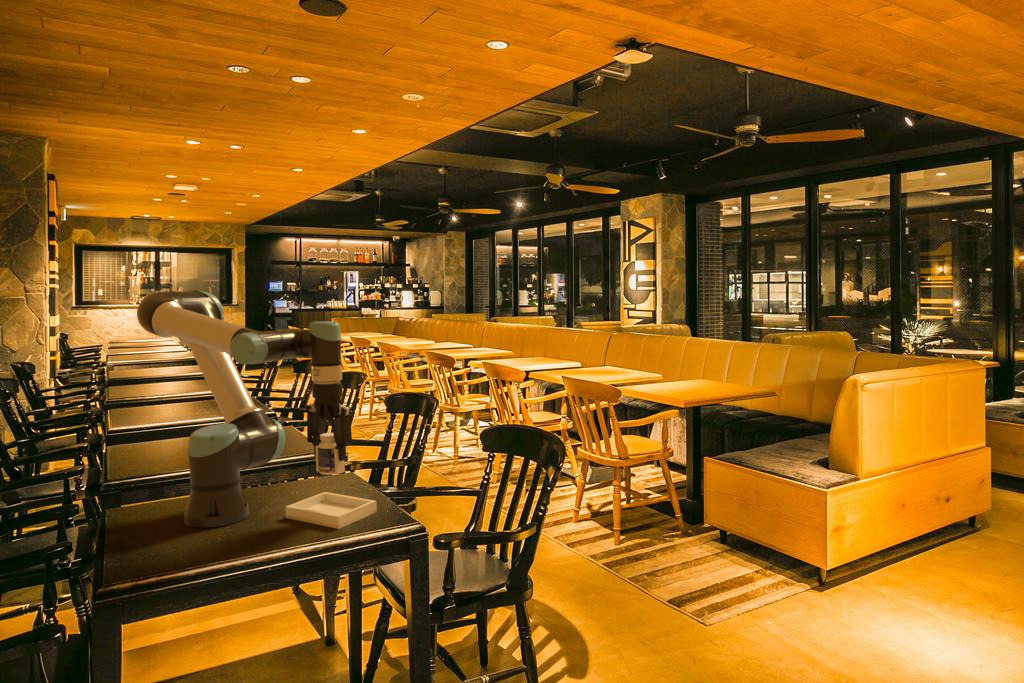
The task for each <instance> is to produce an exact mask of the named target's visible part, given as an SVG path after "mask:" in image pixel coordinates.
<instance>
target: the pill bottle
mask: <svg viewBox="0 0 1024 683" xmlns="http://www.w3.org/2000/svg"><path fill="white" fill-rule="evenodd" d="M320 440H321V443H320V444H319V446H318V453H319V471H318V472H319V474H321V475H324V476H325V475H327V476H331V475H336V474H335V457H334V449H335V447H337V446H336V442H335V438H334V435H333V432H324V434H321V435H320Z"/></svg>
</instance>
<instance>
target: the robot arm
mask: <svg viewBox="0 0 1024 683" xmlns="http://www.w3.org/2000/svg"><path fill="white" fill-rule="evenodd" d="M224 313H225V311H224V308H223V305H222V303H221V301H220V300H219V299H218V297H217V296H215V295H214V294H212V293H210V292H209V291H204V290H203V291H202V290H195V289H194V290H189V291H188V290H187V291H186V290H181V291H180V290H179V291H176V290H175V291H173V290H172V291H171V290H169V291H168V290H167V291H165V290H163V291H162V290H161V291H160V290H159V291H156V292H152V293H150V294H148V295H147V296H145V297H144V298H143V299H142V300H141V301H140V303H139V305H138V307H137V310H136V316H137V321H138V323H139V325H140V326H141V327H142V328H143V329H144V330H145V331H147V332H148V333H150V334H153V335H156V336H158V337H162V338H171V337H174V338H178V340H179V342H180V344H181V345H183V346H186V347H189V349H190V351H191V354H192V355H193V357H194V359H195V361H196V364H197V365H198V367H199V369H200V372H201V374H202V375H203V378H204V379H205V382H206V383H207V386H208V389H209V390H210V392H211V394H212V396H213V398H214V401H215V402H216V404H217V406H218V408H219V411H220V413H221V415H222V417H223V419H224V423H217V424H212V425H206V426H203V427H201V428H198V429H197V430H195V431H193V432H192V433H190V435H189V437H188V448H187V454H188V466H189V467H188V468H189V484H190V486H189V487H190V492H189V493H190V494H189V496H188V501H187V502H186V503H187V504H186V508H185V511H184V514H183V516H184V524H185V525H186V526H188V527H191V528H201V529H203V528H206V529H207V528H208V529H209V528H217V527H218V528H219V527H223V526H228V525H231V524H235V523H238V522H240V521H243V520H244V519H246V518H247V517H248V516H249V514H250V513H249V503H248V502H247V499H246V497H245V494H244V492H243V490H242V487H241V478H240V477H241V473H240V472H242V471H245V470H247V469H251V468H255V467H257V466H261V465H266V464H267V463H269V462H272V461H274V460H276V459H278V458H279V457H280V456H281V454H282V453H283V451H284V448H285V444H286V432H285V430H284V427H283V425H282V424H281V423H280V421H278V420H276V419H274V418H268V415H267V414H266V412H265V410H264V409H263V408H260V407H257V406H256V404H255V403H254V400H253V398H252V396H251V395H250V393H249V390H248V388H247V387H246V384H245V382H244V380H243V378H242V375H241V374H240V372H239V370H238V368H237V366H236V364H235V362H236V363H238V364H240V365H257V364H263V363H268V362H274V361H275V362H276V361H283V360H291V359H310V367H311V371H310V372H311V381H312V382H314V383H312V384H311V395H312V396H311V397H312V398H313V399H314V401H313V403H309V404H306V405H305V406H304V407H305V411H306V440H307V443H311V444H312V446H313V454H314V455H313V456H314V458H315V465H316V467H315V468H316V469H315V470H316V472H319V453H318V446H319V444H320V443H321V440H320V435H321V434H324V433H326V426H327V421H328V423H329V424H330V426H331V430H332V433H333V435H334V438H335V442H336V446H337V447H335V449H334V457H335V474H334V475H340V474H342V473H345V472H346V467H345V460H346V459H347V452H346V450H347V449H346V448H347V447H349V446H351V445H352V444H353V438H352V437H353V435H352V426H351V425H352V423H351V421H352V420H351V413H352V407H351V406H345V405H343V402H342V397H343V395H344V394H343V392H344V391H343V389H344V388H343V383H342V382H341V381H342V380H343V366H342V336H341V328H340V324H339V322H338V321H335V320H333V321H332V320H329V321H327V320H326V321H325V320H324V321H323V320H322V321H321V320H320V321H311V322H310V323H309V328H307V329H304V328H302V329H301V328H290V327H289V328H281V329H277V330H266V331H265V330H264V331H259V330H254V329H252V328H248V327H245V326H242V325H238V324H235V323H232V322H228V321H225V320H224V319H225V316H224ZM233 359H234V360H235V362H234V360H233Z"/></svg>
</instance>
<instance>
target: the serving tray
mask: <svg viewBox="0 0 1024 683" xmlns="http://www.w3.org/2000/svg"><path fill="white" fill-rule="evenodd" d="M376 513H378V507H377V500H374V499H373V500H372V499H368V498H363V497H362V498H361V497H357V496H351V495H345V494H340V493H333V492H329V491H328V492H327V491H324V492H321V493H318V494H316V495H313V496H309V497H307V498H305V499H302V500H300V501H297V502H294V503H292V504H289V505H286V506H285V519H288V520H289V519H290V520H292V521H293V520H294V521H297V522H303V523H307V524H308V523H309V524H314V525H317V526H323V527H328V528H333V529H338V530H340V529H343V528H345V527H346V526H348V525H349V526H350V525H351V524H353V522H354V523H355V522H356V523H357V522H358V521H360V520H362V519H365V518H366V517H368V516H371V515H373V514H376Z"/></svg>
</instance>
